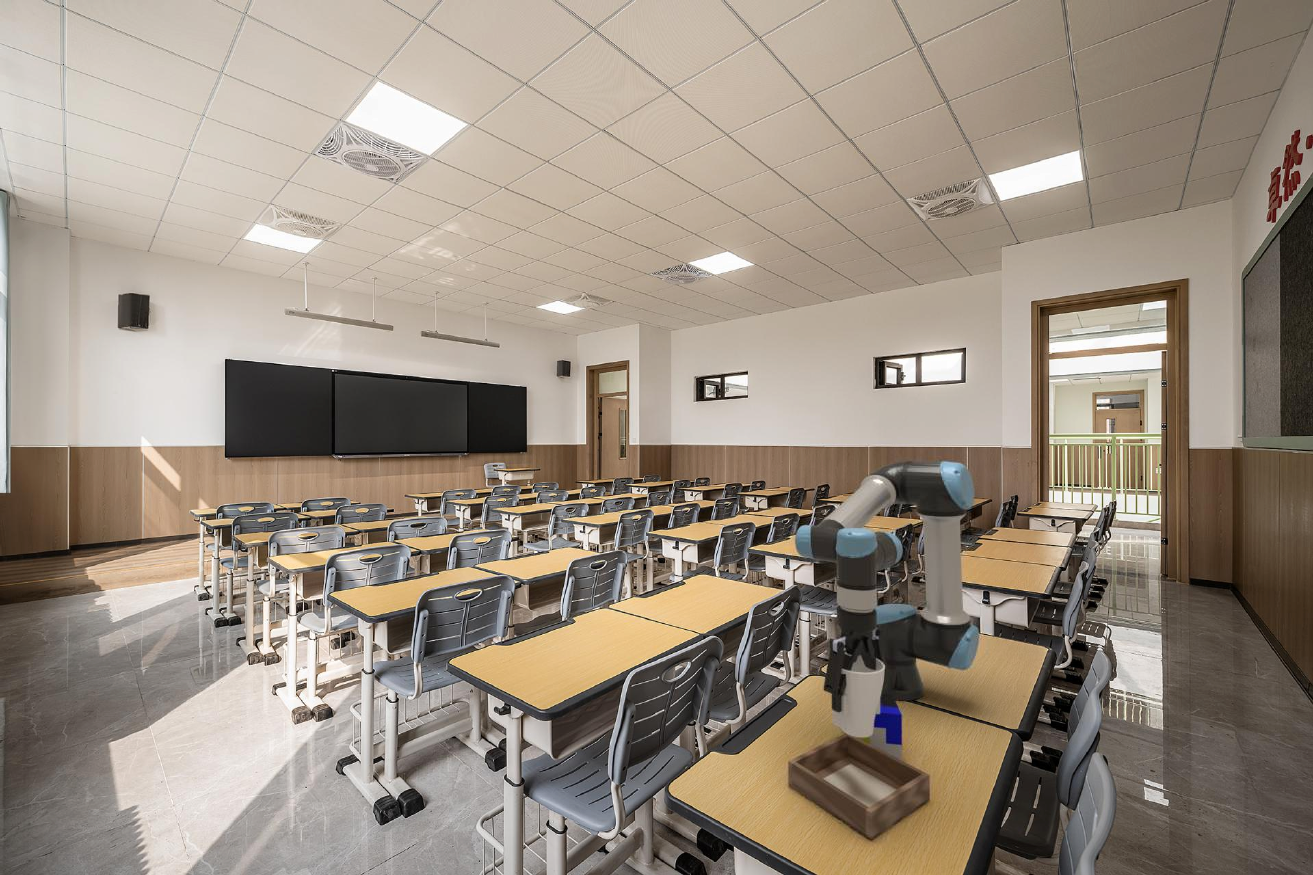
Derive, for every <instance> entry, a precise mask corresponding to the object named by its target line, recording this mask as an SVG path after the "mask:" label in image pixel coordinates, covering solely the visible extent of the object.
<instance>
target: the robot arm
mask: <svg viewBox="0 0 1313 875" xmlns="http://www.w3.org/2000/svg"><path fill="white" fill-rule="evenodd" d="M974 498H975V486H974V481H973V477H972V475H971V473H970V471H969V469H968V467H966V466H965V464H963V463H961V462H954V461H945V460H942V461H937V460H933V461H931V460H930V461H929V460H927V461H926V460H925V461H923V460H922V461H921V460H917V461H915V460H901V461H894V462H891V463H888V464H886V465H883V466H882V467H880V468H878V469H876V470H874V471H873V472H871V473H870V474H868V475H867V476H866V477H864V479H863V480H862V481H861V482H860V484H859V488H858V489H857V490H856V491H854V492H853V494H851V495H850V496H849V497H848V498H847V499H845V500H844V501H843V502H841V504H840V505H839V506H838V507H836V508H835V509H834V510H833V511H832V512H831V513H830V514H828V516H826V517H825V518H824V519H823V520H822V521H821V522H820V523H818V524H817V525H813V524H810V525H808V524H804V525H801V526H799V528H798V529H797V531H796V533H795V537H794V545H795V550H796V552H797V553H798V555H799V556H801V557H803V558H808V559H812V560H814V561H816V560H817V561H823V562H824V561H825V562H830V563H836V604H837V605H838V606H837V607H836V624H837V626H838V627H839V628H840V630H841V633H840V636H839V638H838V639H835V638H831V639H830V640H829V655H828V660H827V666H826V672H825V676H824V683H823V690H824V692H826V693H828V694H831V710H832V725H833V726H835V727H838V728H839V729H841V730H842V729H843V730H846V729H847V695H845V694H844V691H845V688H846V685H847V683H846V674H842V673H841V671H842V669H844V670H848V671H851V669H852V666H853V663H854V662H856V661H857V658H858V656H859V655H861V657H862V659H863V662H864V664H865V666H866V667H867V668H869V669H872V670H876V658H877V659H879V660H880V661H881V662H883V664H884V665H885V671H884V682H883V687H882V692H881V693H884V694H892V695H893V697H894V699H895V701H906V702H907V701H914V700H918V699H920V698H922V697H923V696H924V683H923V680H922V678H921V675H920V672H919V669H918V665H917V660H920V661H923V662H928V663H930V664H935V665H939V666H943V667H945V668H948V669H955V670H958V671H967V670H968V669H969V668H971V666H972V665H973V663H974V661H975V659H976V656H977V653H978V648H979V642H980V632H979V628H978V627H977V626H975V625H974V624H972V625H971V616H970V615H969V614H968V613H967V612H966V611H965V610H964V603H963V601H964V599H963V575H962V574H963V572H962V571H963V569H962V546H961V544H962V543H961V542H962V540H961V521H962V519H963V518H964V517H965V516H966V515H967V510H969V509H971V508H972V507H973V506H974V502H975V499H974ZM895 504H896V505H897V504H902V505H903V504H904V505H905V504H906V505H914V506H915V509H916V510H915V511H916V515H917V516H919V517H920V518H921V519H922V525H923V526H922V529H923V530H922V531H923V550H924V551H923V552H924V574H925V575H924V576H925V581H924V582H925V600H926V603H925V604H926V606H925V607H924V608H923V609H922V610H921V611H920V614H918V613H917V612H918V611H917V609H916V607H915V606H913V605H910V604H905V603H888V604H882V605H881V604H880V605H878V597H877V594H878V592H877V591H878V590H877V588H878V587H877V573H878V572H879V571H882V570H885V569H888V568H892V567H893V566H894V565H896V564H897V563H899V561H900V560H901V558H902V557H903V553H904V552H903V551H904V550H903V545H902V541H901V540H900V539H899V538H898V536H896V534H894V533H892V532H888V531H880V530H878V531H876V532H875V531H873V530H871V529H868V528H864V527H866V525H867V524H869V523H870V521H871V520H872V519H873V518H875V517H876V515H877V514H879V512H880V511H881V510H882V509H888V508H889V507H892V505H895ZM845 653H847V654H849V655H852V656H849V655H846V654H845ZM876 714H880V700H879V703H878V706H877V710H876ZM843 730H842V731H843Z"/></svg>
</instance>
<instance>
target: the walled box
mask: <svg viewBox="0 0 1313 875" xmlns="http://www.w3.org/2000/svg"><path fill="white" fill-rule="evenodd" d="M787 764H788V766H787V768H788V770H787V772H788V780H787V781H788V786H789V787H790V788H791V789H793V790H794V791H796V792H797V793H799V794H800V795H802V796H803V797H805V798H806V799H808V800H810V802H812V803H813V804H814V805H817V806H818V807H819V808H821V809H822V810H824V811H826V813H829V814H830V815H831V816H833V817H834V818H836V819H837V820H838V821H840V822H842V823H843V824H845V825H846V826H848V827H849V828H851V829H852V830H854V831H855V832H857V833H858V834H860V835H861V836H863V837H864V838H866V839H867V840H869V841H870V842H872V841H873V840H874V839H876V838H878V837H879V836H880V835H882V834H883V833H885V832H886V831H887V830H889V829H891V828H892V827H893V826H895V825H896V824H898V823H900V822H901V821H902V820H904V819H905V818H906V817H908V816H909V815H911V814H912V813H914V812H915V811H917V810H918V809H920V808H921V807H923V806H924V805H926V804H927V803H928V802H930V801H931V798H930V794H931V791H930V790H931V788H930V786H931V785H930V784H931V783H930V781H931V779H930V776H931V775H930V774H928V773H927V772H925V771H923V770H921V769H919V768H917V767H915V766H913V765H912V764H909V763H907V762H906V761H903V760H899V759H897V758H896V757H894V756H892V755H890V754H888V753H886V752H884V751H882V750H880V749H878V748H876V747H874V746H872V745H870V744H868V743H866V742H864V741H862V740H860V739H858V738H856V737H853V736H850V735H848V734H846V733H845V732H844V734H841V735H839V736H837V737H835V738H833V739H831V740H829V741H826V742H825V743H823V744H821V745H818V746H817V747H814V748H812V749H810V750H808V751H806V752H804V753H803V754H800V755H798V756H796V757H794V758H791V759H790V760H788V762H787Z"/></svg>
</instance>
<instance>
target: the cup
mask: <svg viewBox="0 0 1313 875" xmlns="http://www.w3.org/2000/svg"><path fill="white" fill-rule="evenodd" d="M845 654H846V655H849V654H847V653H846V652H845ZM849 656H852V655H849ZM884 671H885V665H884V664H883V662H881V661H880V660H879V659H877V658H876V670H872V669H869V668H867V667H866V666H865V664H864V662H863V659H862V657H861V655H859V656H858V658H857V661H856V662H854V663H853V666H852V669H851V671H848V670H844V669H842V671H841V673H842V674H846V683H847V685H846V688H845V691H844V694H845V695H847V729H846V730H843V729H841V730H842V732H843V733H844V734H845V733H846V734H848V735H850V736H853V737H858V738H866V737H869V736H871V735H872V734H873V727H874V719H875V715H876V710H877V706H878V703H879V700H880V696H881V692H882V687H883V682H884Z"/></svg>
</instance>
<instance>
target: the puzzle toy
mask: <svg viewBox="0 0 1313 875" xmlns="http://www.w3.org/2000/svg"><path fill="white" fill-rule="evenodd" d="M896 701H897V700H895V699H894V697H893V695H892V694H884V693H881V696H880V714H876V715H875V719H874V727H873V734H872V735H871V736H869V737H866V738H858V737H856V738H858V739H860V740H862V741H864V742H866V743H868V744H870V745H872V746H874V747H876V748H878V749H880V750H882V751H884V752H886V753H888V754H890V755H892V756H894V757H896V758H897V759H899V760H901V761H903V716H902V712H901V710H900V708H899V706H898V704H897V702H896Z"/></svg>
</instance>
